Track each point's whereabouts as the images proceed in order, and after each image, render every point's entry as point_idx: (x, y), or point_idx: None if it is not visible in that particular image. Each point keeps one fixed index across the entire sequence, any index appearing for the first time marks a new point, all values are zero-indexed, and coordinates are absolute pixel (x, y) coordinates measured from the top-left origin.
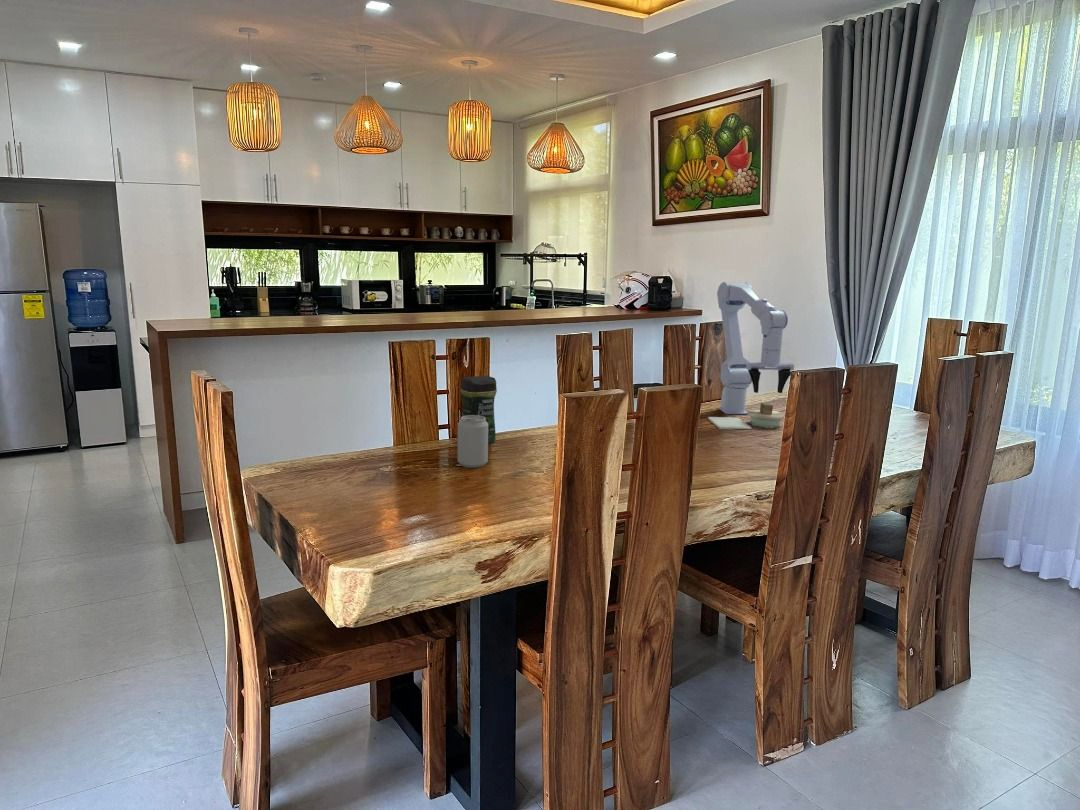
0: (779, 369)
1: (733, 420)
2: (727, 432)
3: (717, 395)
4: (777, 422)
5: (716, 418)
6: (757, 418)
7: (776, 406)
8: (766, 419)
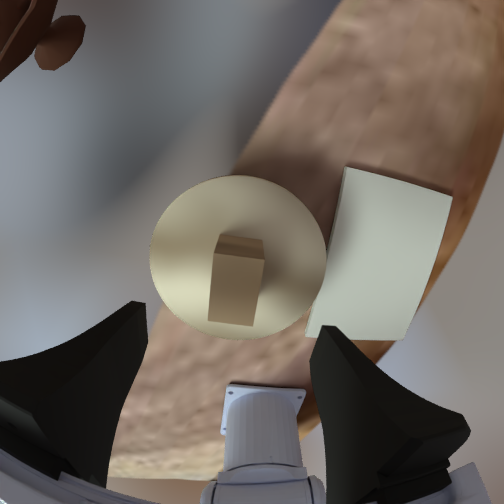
0: (93, 487)
1: (351, 295)
2: (445, 148)
3: None
4: None
5: (390, 323)
6: None
7: None
8: None
